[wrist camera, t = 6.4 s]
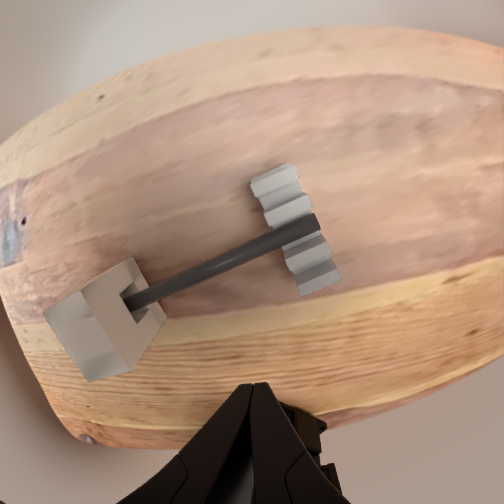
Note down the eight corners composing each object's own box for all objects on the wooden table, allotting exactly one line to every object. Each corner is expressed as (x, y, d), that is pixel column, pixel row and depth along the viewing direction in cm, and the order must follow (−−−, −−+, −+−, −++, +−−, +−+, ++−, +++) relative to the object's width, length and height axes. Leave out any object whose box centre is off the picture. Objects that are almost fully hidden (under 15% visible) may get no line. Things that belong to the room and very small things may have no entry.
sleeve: (132, 255, 19) (79, 290, 13) (167, 317, 21) (131, 371, 14) (95, 276, 20) (42, 312, 14) (128, 332, 21) (88, 382, 15)
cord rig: (286, 164, 18) (292, 159, 13) (328, 259, 20) (345, 285, 15) (75, 275, 21) (39, 296, 17) (116, 344, 23) (90, 376, 18)
